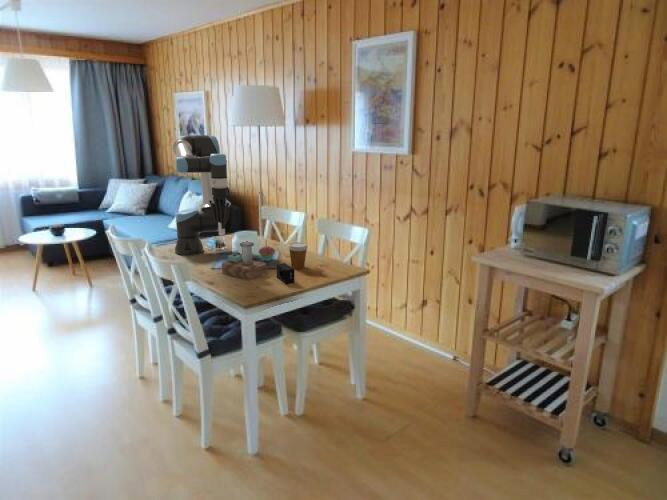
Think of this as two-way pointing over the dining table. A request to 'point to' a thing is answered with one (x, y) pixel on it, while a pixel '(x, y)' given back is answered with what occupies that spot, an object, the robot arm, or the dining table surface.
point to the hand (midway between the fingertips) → (222, 235)
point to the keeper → (235, 258)
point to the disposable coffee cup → (297, 254)
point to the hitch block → (244, 269)
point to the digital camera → (285, 273)
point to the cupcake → (266, 252)
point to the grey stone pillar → (247, 252)
